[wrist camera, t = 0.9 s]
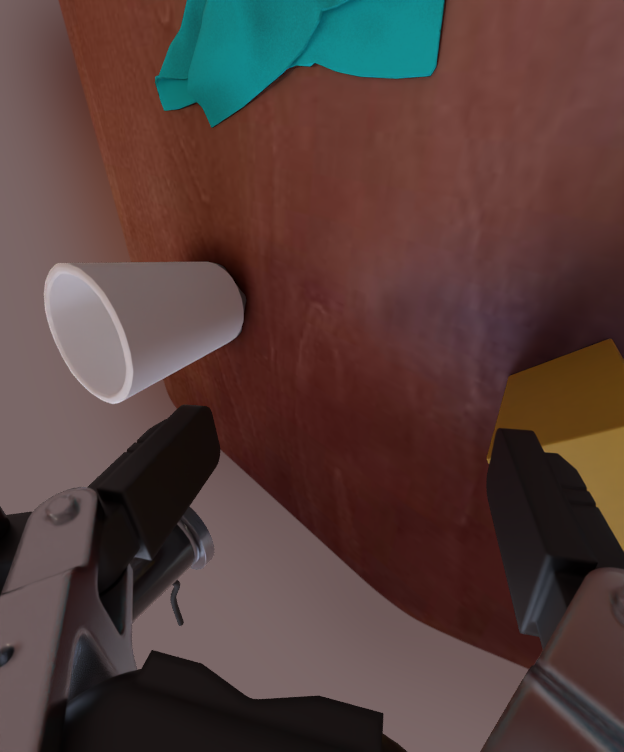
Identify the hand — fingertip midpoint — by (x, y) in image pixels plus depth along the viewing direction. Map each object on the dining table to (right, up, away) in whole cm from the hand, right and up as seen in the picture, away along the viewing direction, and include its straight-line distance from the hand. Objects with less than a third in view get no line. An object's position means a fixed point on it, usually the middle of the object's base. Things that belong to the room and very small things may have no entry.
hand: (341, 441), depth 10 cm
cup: (-10, +9, +24) cm, 27 cm away
